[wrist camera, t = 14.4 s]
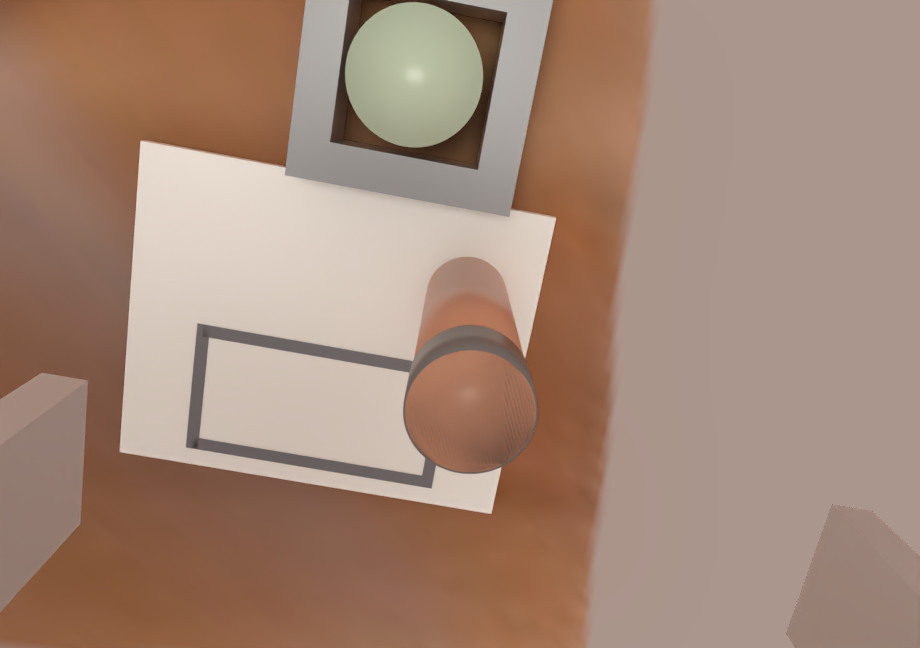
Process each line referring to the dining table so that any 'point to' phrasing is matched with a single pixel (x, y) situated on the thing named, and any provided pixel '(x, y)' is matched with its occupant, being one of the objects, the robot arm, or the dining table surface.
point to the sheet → (297, 321)
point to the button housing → (401, 172)
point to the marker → (469, 373)
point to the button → (414, 74)
